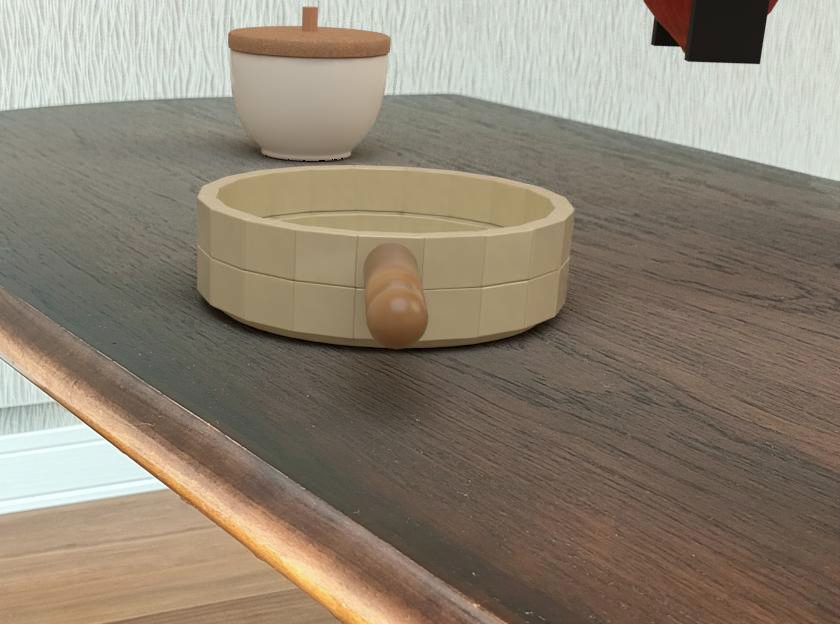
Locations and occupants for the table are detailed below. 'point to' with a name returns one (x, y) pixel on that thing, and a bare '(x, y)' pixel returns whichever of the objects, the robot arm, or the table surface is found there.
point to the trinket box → (307, 86)
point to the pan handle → (394, 296)
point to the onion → (678, 16)
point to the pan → (372, 226)
